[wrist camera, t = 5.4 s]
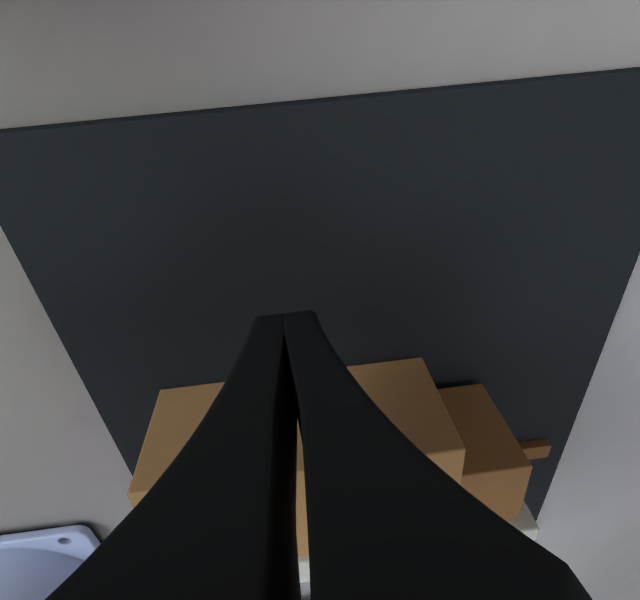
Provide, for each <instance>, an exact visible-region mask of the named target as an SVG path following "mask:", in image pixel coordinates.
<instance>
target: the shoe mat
mask: <svg viewBox="0 0 640 600" xmlns="http://www.w3.org/2000/svg"><path fill="white" fill-rule="evenodd" d="M0 225H1V227H2V229H3V231H4V233H5V235H6V237H7V239H8V241H9V243H10V244H11V246H12V248H13V250H14V252H15V254H16V256H17V258H18V260H19V261H20V263H21V265H22V267H23V269H24V271H25V273H26V275H27V277H28V279H29V280H30V282H31V284H32V286H33V288H34V290H35V292H36V294H37V296H38V297H39V299H40V301H41V303H42V305H43V307H44V309H45V311H46V313H47V315H48V316H49V318H50V320H51V322H52V324H53V326H54V328H55V330H56V332H57V334H58V335H59V337H60V339H61V341H62V343H63V345H64V347H65V349H66V351H67V352H68V354H69V356H70V358H71V360H72V362H73V364H74V366H75V368H76V370H77V371H78V373H79V375H80V377H81V379H82V381H83V383H84V385H85V387H86V388H87V390H88V392H89V394H90V396H91V398H92V400H93V402H94V404H95V406H96V407H97V409H98V411H99V413H100V415H101V417H102V419H103V421H104V423H105V425H106V426H107V428H108V430H109V432H110V434H111V436H112V438H113V440H114V442H115V443H116V445H117V447H118V449H119V451H120V453H121V455H122V457H123V459H124V461H125V462H126V464H127V466H128V468H129V470H130V472H131V474H132V476H133V475H134V472H135V468H136V465H137V462H138V459H139V456H140V453H141V449H142V446H143V443H144V440H145V437H146V433H147V430H148V427H149V424H150V421H151V418H152V414H153V411H154V408H155V405H156V402H157V399H158V395H159V392H160V390H162V389H169V388H177V387H186V386H194V385H202V384H210V383H218V382H225V381H226V379H227V377H228V375H229V373H230V371H231V369H232V368H233V366H234V364H235V362H236V360H237V358H238V356H239V354H240V352H241V349H242V347H243V345H244V343H245V341H246V338H247V336H248V333H249V331H250V328H251V325H252V322H253V320H254V319H255V318H256V317H257V316H263V315H272V314H280V313H289V312H297V311H305V310H312V311H313V312H315V313H316V314H317V317H318V320H319V322H320V325H321V327H322V329H323V331H324V333H325V334H326V336H327V338H328V340H329V341H330V343H331V345H332V346H333V348H334V350H335V351H336V353H337V354H338V356H339V357H340V359H341V360H342V361H343V363H344V364H345V366H346V367H347V366H355V365H363V364H371V363H379V362H387V361H395V360H403V359H411V358H419V357H421V358H422V359H423V361H424V363H425V365H426V367H427V369H428V371H429V373H430V375H431V377H432V380H433V382H434V384H435V386H436V388H437V389H443V388H450V387H458V386H466V385H474V384H482V385H483V386H484V388H485V389H486V391H487V393H488V394H489V396H490V398H491V399H492V401H493V402H494V404H495V406H496V407H497V409H498V411H499V412H500V414H501V416H502V417H503V419H504V420H505V422H506V424H507V425H508V427H509V429H510V430H511V432H512V434H513V435H514V437H515V438H516V440H517V442H518V443H519V445H520V447H521V448H522V450H523V451H524V453H525V455H526V456H527V458H528V460H529V461H530V463H531V465H532V471H531V475H530V478H529V482H528V486H527V489H526V493H525V497H524V501H525V503H526V505H527V507H528V508H529V510H530V512H531V514H532V516H533V518H534V519H535V521H536V520H537V517H538V515H539V512H540V510H541V507H542V504H543V502H544V499H545V497H546V494H547V491H548V489H549V486H550V484H551V481H552V478H553V476H554V473H555V471H556V468H557V465H558V463H559V460H560V458H561V455H562V452H563V450H564V447H565V445H566V442H567V439H568V437H569V434H570V432H571V429H572V426H573V424H574V421H575V419H576V416H577V413H578V411H579V408H580V406H581V403H582V401H583V398H584V395H585V393H586V390H587V388H588V385H589V382H590V380H591V377H592V375H593V372H594V369H595V367H596V364H597V362H598V359H599V356H600V354H601V351H602V349H603V346H604V343H605V341H606V338H607V336H608V333H609V330H610V328H611V325H612V323H613V320H614V317H615V315H616V312H617V310H618V307H619V304H620V302H621V299H622V297H623V294H624V291H625V289H626V286H627V284H628V281H629V278H630V276H631V273H632V271H633V268H634V265H635V263H636V260H637V258H638V255H639V252H640V67H638V68H627V69H617V70H607V71H596V72H586V73H576V74H566V75H555V76H545V77H535V78H524V79H514V80H504V81H493V82H483V83H473V84H463V85H452V86H442V87H432V88H421V89H411V90H401V91H390V92H380V93H370V94H360V95H349V96H339V97H329V98H318V99H308V100H298V101H288V102H277V103H267V104H257V105H246V106H236V107H226V108H215V109H205V110H195V111H185V112H174V113H164V114H154V115H143V116H133V117H123V118H112V119H102V120H92V121H82V122H71V123H61V124H51V125H40V126H30V127H20V128H10V129H0Z"/></svg>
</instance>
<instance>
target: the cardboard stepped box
mask: <svg viewBox="0 0 640 600" xmlns="http://www.w3.org/2000/svg"><path fill="white" fill-rule="evenodd" d="M347 369H348V370H349V371H350V373H351V374H352V376H353V377H354V378H355V380H356V381H357V382H358V383H359V385H360V386H361V387H362V388H363V390H364V391H365V392H366V393H367V395H368V396H369V397H370V398H371V399H372V401H373V402H374V403H375V404H376V405H377V406H378V408H379V409H380V410H381V411H382V412H383V413H384V414H385V415H386V416H387V417H388V418H389V420H390V421H391V422H392V423H393V424H394V425H395V426H396V427H397V428H398V429H399V430H400V431H401V432H402V433H403V434H404V435H405V436H406V437H407V438H408V439H409V440H410V441H411V442H412V443H413V444H414V445H415V446H416V447H417V448H418V449H419V450H421V451H422V452H423V453H424V454H425V455H426V456H427V457H428V458H430V459H431V460H432V461H433V462H434V463H435V464H437V465H438V466H439V467H440V468H441V469H442V470H443V471H445V472H446V473H447V474H448V475H449V476H450V477H452V478H453V479H454V480H455V481H456V482H457V483H459V484H460V485H461V486H462V487H463V488H464V489H466V490H467V491H468V492H469V493H471V494H472V495H473V496H474V497H476V498H477V499H478V500H480V501H481V502H482V503H483V504H485V505H486V506H487V507H489V508H490V509H491V510H492V511H494V512H495V513H496V514H498V515H499V516H500V517H502V518H503V519H504V520H506V521H507V522H508V523H510V524H511V525H513V526H514V527H515V528H517V529H518V530H519V531H521V532H522V533H524V534H525V535H526V536H528V537H529V538H531V539H532V540H533V541H535V542H536V539H537V536H538V533H539V527H538V525H537V523H536V521H535V519H534V518H533V516H532V514H531V512H530V510H529V508H528V507H527V505H526V503H525V501H524V497H525V493H526V489H527V486H528V482H529V478H530V475H531V471H532V465H531V463H530V461H529V460H528V458H527V456H526V455H525V453H524V451H523V450H522V448H521V447H520V445H519V443H518V442H517V440H516V438H515V437H514V435H513V434H512V432H511V430H510V429H509V427H508V425H507V424H506V422H505V420H504V419H503V417H502V416H501V414H500V412H499V411H498V409H497V407H496V406H495V404H494V402H493V401H492V399H491V398H490V396H489V394H488V393H487V391H486V389H485V388H484V386H483V385H482V384H474V385H466V386H458V387H450V388H443V389H437V388H436V386H435V384H434V382H433V380H432V377H431V375H430V373H429V371H428V369H427V367H426V365H425V363H424V361H423V359H422V358H421V357H419V358H411V359H403V360H395V361H387V362H379V363H371V364H363V365H355V366H347ZM224 383H225V382H218V383H210V384H202V385H194V386H186V387H177V388H169V389H162V390H160V392H159V395H158V399H157V402H156V405H155V408H154V411H153V414H152V418H151V421H150V424H149V427H148V430H147V433H146V437H145V440H144V443H143V446H142V449H141V453H140V456H139V459H138V462H137V465H136V468H135V472H134V475H133V478H132V481H131V484H130V488H129V491H128V498H129V500H130V502H131V504H132V506H133V508H134V507H135V506H136V505H137V504H138V503H139V502H140V501H141V499H142V498H143V497H144V496H145V495H146V494H147V492H148V491H149V490H150V489H151V488H152V486H153V485H154V484H155V483H156V481H157V480H158V479H159V478H160V476H161V475H162V474H163V473H164V471H165V470H166V469H167V468H168V466H169V465H170V464H171V463H172V461H173V460H174V459H175V457H176V456H177V455H178V453H179V452H180V451H181V449H182V448H183V447H184V445H185V444H186V442H187V441H188V440H189V438H190V437H191V435H192V434H193V433H194V431H195V430H196V428H197V427H198V425H199V424H200V422H201V421H202V419H203V418H204V416H205V414H206V413H207V411H208V410H209V408H210V406H211V405H212V403H213V401H214V400H215V398H216V396H217V395H218V393H219V391H220V390H221V388H222V386H223V385H224ZM296 534H297V549H298V563H299V577H300V583H304V582H310V569H309V548H308V530H307V512H306V494H305V478H304V461H303V446H302V440H301V435H300V429H299V424H298V419H297V483H296Z"/></svg>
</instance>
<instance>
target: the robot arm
mask: <svg viewBox="0 0 640 600" xmlns="http://www.w3.org/2000/svg"><path fill="white" fill-rule="evenodd" d="M297 419H298V424H299V429H300V435H301V440H302V446H303V461H304V478H305V494H306V512H307V530H308V548H309V569H310V590H311V600H592V598H591V597H590V595H589V594H588V593H587V591H586V590H585V588H584V587H583V585H582V584H581V583H580V581H579V580H578V578H577V577H576V576H575V574H574V573H573V571H572V570H571V569H570V567H569V566H568V565H567V564H566V563H565V562H564V561H562V560H561V559H559V558H558V557H557V556H555V555H554V554H552V553H551V552H549V551H548V550H546V549H545V548H544V547H542V546H541V545H539V544H538V543H536V542H535V541H533V540H532V539H531V538H529V537H528V536H526V535H525V534H524V533H522V532H521V531H519V530H518V529H517V528H515V527H514V526H513V525H511V524H510V523H508V522H507V521H506V520H504V519H503V518H502V517H500V516H499V515H498V514H496V513H495V512H494V511H492V510H491V509H490V508H489V507H487V506H486V505H485V504H483V503H482V502H481V501H480V500H478V499H477V498H476V497H474V496H473V495H472V494H471V493H469V492H468V491H467V490H466V489H464V488H463V487H462V486H461V485H460V484H459V483H457V482H456V481H455V480H454V479H453V478H452V477H450V476H449V475H448V474H447V473H446V472H445V471H443V470H442V469H441V468H440V467H439V466H438V465H437V464H435V463H434V462H433V461H432V460H431V459H430V458H428V457H427V456H426V455H425V454H424V453H423V452H422V451H421V450H419V449H418V448H417V447H416V446H415V445H414V444H413V443H412V442H411V441H410V440H409V439H408V438H407V437H406V436H405V435H404V434H403V433H402V432H401V431H400V430H399V429H398V428H397V427H396V426H395V425H394V424H393V423H392V422H391V421H390V420H389V418H388V417H387V416H386V415H385V414H384V413H383V412H382V411H381V410H380V409H379V408H378V406H377V405H376V404H375V403H374V402H373V401H372V399H371V398H370V397H369V396H368V395H367V393H366V392H365V391H364V390H363V388H362V387H361V386H360V385H359V383H358V382H357V381H356V380H355V378H354V377H353V376H352V374H351V373H350V371H349V370H348V369H347V367H346V366H345V364H344V363H343V361H342V360H341V359H340V357H339V356H338V354H337V353H336V351H335V350H334V348H333V346H332V345H331V343H330V341H329V340H328V338H327V336H326V334H325V333H324V331H323V329H322V327H321V325H320V322H319V320H318V317H317V314H316V313H315V312H313V311H312V310H305V311H297V312H289V313H280V314H272V315H263V316H257V317H256V318H255V319H254V320H253V322H252V325H251V328H250V331H249V333H248V336H247V338H246V341H245V343H244V345H243V347H242V349H241V352H240V354H239V356H238V358H237V360H236V362H235V364H234V366H233V368H232V369H231V371H230V373H229V375H228V377H227V379H226V381H225V383H224V385H223V386H222V388H221V390H220V391H219V393H218V395H217V396H216V398H215V400H214V401H213V403H212V405H211V406H210V408H209V410H208V411H207V413H206V414H205V416H204V418H203V419H202V421H201V422H200V424H199V425H198V427H197V428H196V430H195V431H194V433H193V434H192V435H191V437H190V438H189V440H188V441H187V442H186V444H185V445H184V447H183V448H182V449H181V451H180V452H179V453H178V455H177V456H176V457H175V459H174V460H173V461H172V463H171V464H170V465H169V466H168V468H167V469H166V470H165V471H164V473H163V474H162V475H161V476H160V478H159V479H158V480H157V481H156V483H155V484H154V485H153V486H152V488H151V489H150V490H149V491H148V492H147V494H146V495H145V496H144V497H143V498H142V499H141V501H140V502H139V503H138V504H137V505H136V506H135V507H134V509H133V510H132V511H131V512H130V513H129V514H128V515H127V516H126V517H125V518H124V520H123V521H122V522H121V523H120V524H119V525H118V526H117V527H116V528H115V529H114V530H113V531H112V532H111V533H110V534H109V536H108V537H107V538H106V539H105V540H104V541H103V542H102V543H101V544H100V542H99V541H98V539H97V538H96V537H95V535H94V534H93V532H92V531H91V529H90V528H88V527H86V526H84V525H73V526H65V527H58V528H51V529H43V530H36V531H28V532H21V533H14V534H6V535H0V600H301V591H300V577H299V563H298V549H297V534H296V483H297Z"/></svg>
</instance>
